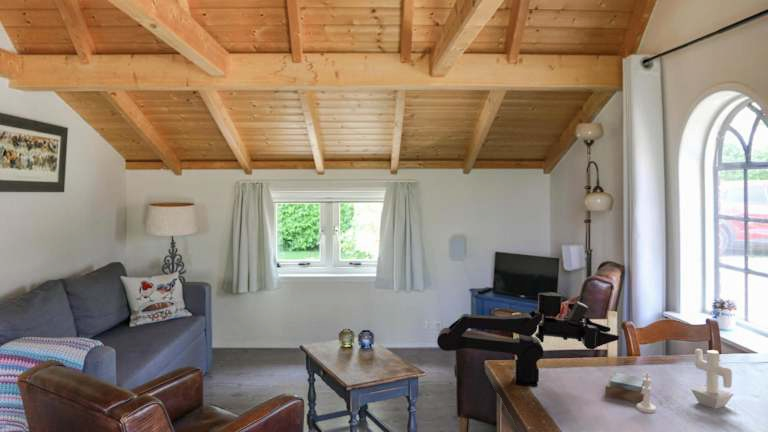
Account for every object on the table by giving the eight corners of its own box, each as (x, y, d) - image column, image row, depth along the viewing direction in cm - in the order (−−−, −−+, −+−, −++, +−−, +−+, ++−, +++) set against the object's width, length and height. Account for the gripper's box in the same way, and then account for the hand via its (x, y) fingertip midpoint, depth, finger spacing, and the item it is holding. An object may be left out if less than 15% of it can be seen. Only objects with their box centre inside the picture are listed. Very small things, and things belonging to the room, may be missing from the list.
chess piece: (659, 413, 129) (660, 376, 129) (639, 411, 130) (639, 374, 130) (652, 405, 134) (653, 369, 133) (633, 404, 135) (634, 368, 134)
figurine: (721, 413, 129) (723, 357, 129) (686, 400, 138) (687, 347, 137) (737, 408, 132) (739, 354, 132) (702, 396, 141) (704, 344, 140)
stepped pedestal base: (605, 396, 140) (605, 381, 140) (611, 385, 148) (611, 371, 148) (644, 404, 134) (644, 388, 134) (648, 393, 143) (649, 378, 142)
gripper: (566, 308, 139) (625, 314, 136) (556, 295, 157) (608, 300, 154) (563, 346, 139) (622, 353, 136) (554, 329, 158) (605, 335, 155)
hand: (614, 333), depth 145 cm, fingers open, 9 cm apart
